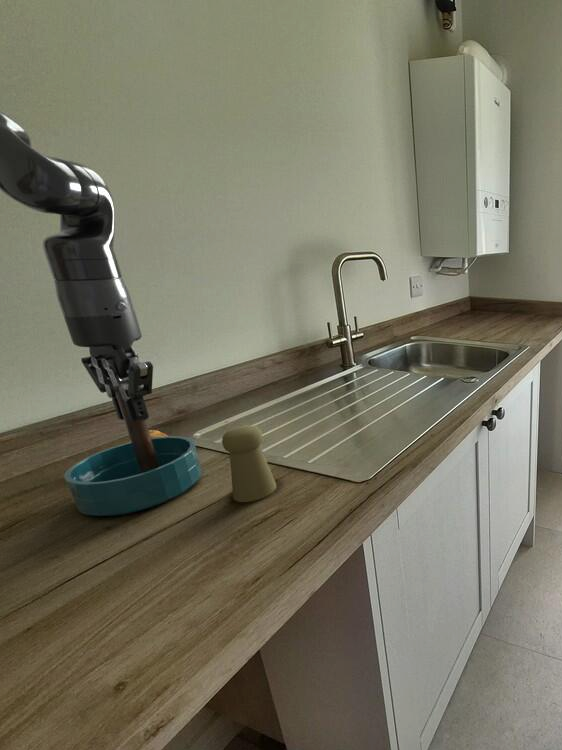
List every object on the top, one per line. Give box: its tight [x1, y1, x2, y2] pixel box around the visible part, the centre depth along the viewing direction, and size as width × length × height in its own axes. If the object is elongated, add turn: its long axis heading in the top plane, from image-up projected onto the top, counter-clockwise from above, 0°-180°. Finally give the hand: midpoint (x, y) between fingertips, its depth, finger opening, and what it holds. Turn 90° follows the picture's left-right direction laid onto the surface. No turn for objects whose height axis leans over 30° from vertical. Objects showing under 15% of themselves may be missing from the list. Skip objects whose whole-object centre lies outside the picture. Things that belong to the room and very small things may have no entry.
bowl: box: [63, 435, 203, 517], centre depth 65 cm, size 15×15×6 cm
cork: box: [221, 424, 277, 503], centre depth 64 cm, size 6×6×11 cm
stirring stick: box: [115, 388, 160, 472], centre depth 66 cm, size 2×2×14 cm
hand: (134, 418), depth 65 cm, fingers closed on stirring stick, 2 cm apart
